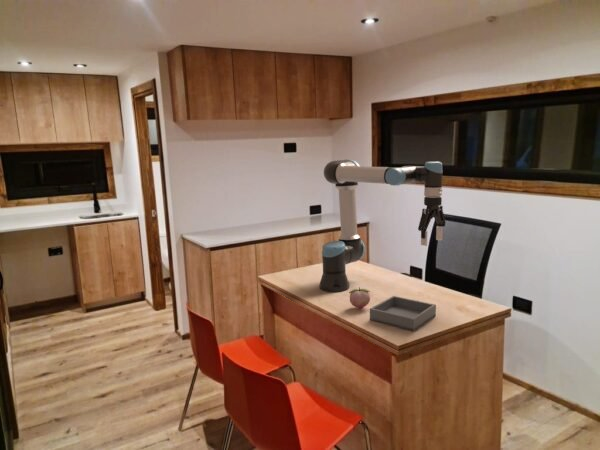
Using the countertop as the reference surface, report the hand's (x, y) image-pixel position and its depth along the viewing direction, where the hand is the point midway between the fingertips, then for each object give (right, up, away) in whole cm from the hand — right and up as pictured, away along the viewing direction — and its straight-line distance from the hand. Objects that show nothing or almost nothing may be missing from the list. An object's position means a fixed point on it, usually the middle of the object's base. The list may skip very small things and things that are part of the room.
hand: (431, 242), depth 207 cm
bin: (-17, -31, -17) cm, 39 cm away
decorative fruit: (-34, -30, -4) cm, 45 cm away
